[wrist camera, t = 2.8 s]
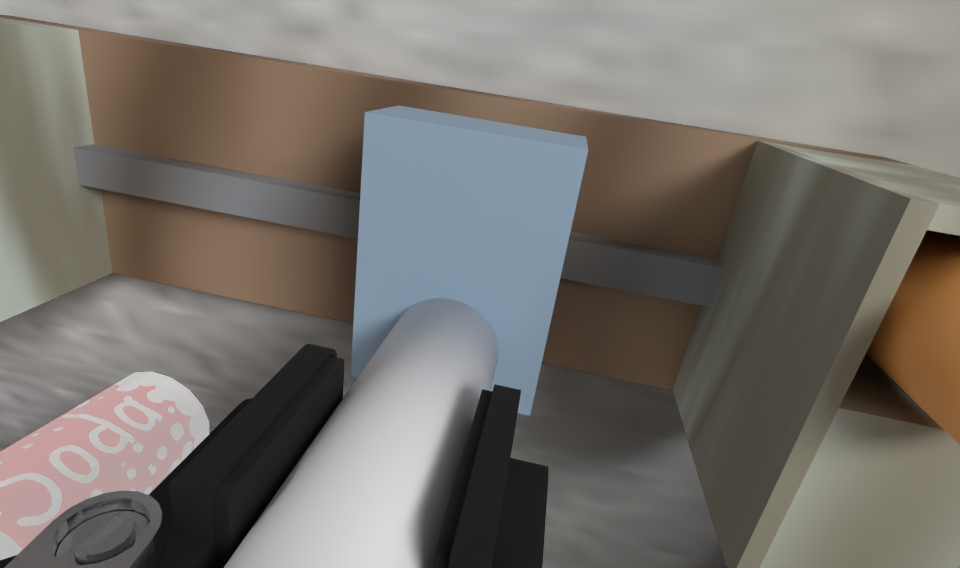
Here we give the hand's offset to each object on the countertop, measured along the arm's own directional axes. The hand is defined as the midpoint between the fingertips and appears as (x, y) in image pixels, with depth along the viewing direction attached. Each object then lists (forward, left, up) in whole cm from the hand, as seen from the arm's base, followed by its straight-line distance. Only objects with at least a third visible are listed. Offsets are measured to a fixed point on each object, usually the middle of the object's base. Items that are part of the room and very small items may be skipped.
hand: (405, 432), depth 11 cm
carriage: (0, -2, -6) cm, 6 cm away
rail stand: (+3, -2, -9) cm, 9 cm away
